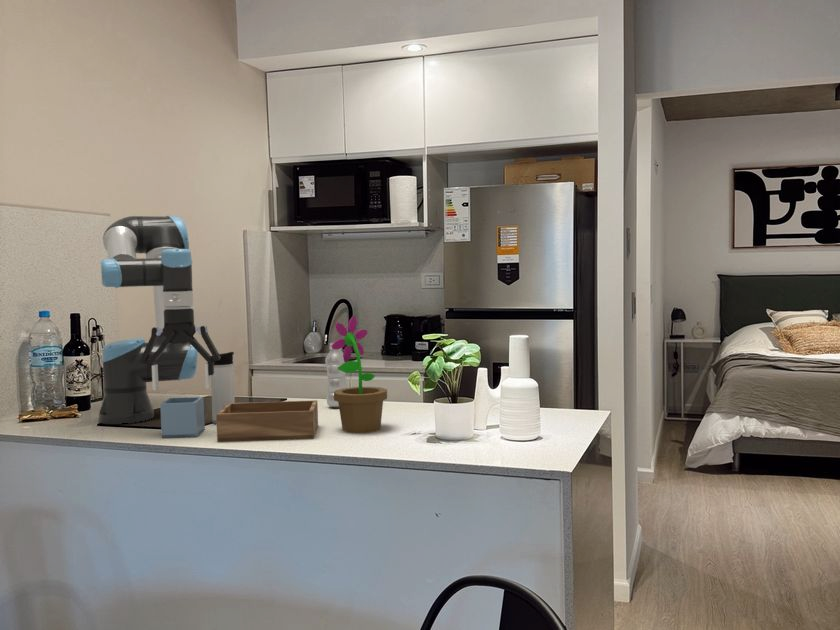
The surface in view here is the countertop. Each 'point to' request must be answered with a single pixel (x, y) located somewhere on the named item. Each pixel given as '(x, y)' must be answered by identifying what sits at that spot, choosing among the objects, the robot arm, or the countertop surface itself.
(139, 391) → the robot arm
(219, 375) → the travel mug
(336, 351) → the plastic bottle
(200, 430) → the slate crate
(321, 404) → the countertop surface
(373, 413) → the flowerpot
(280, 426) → the walnut crate
